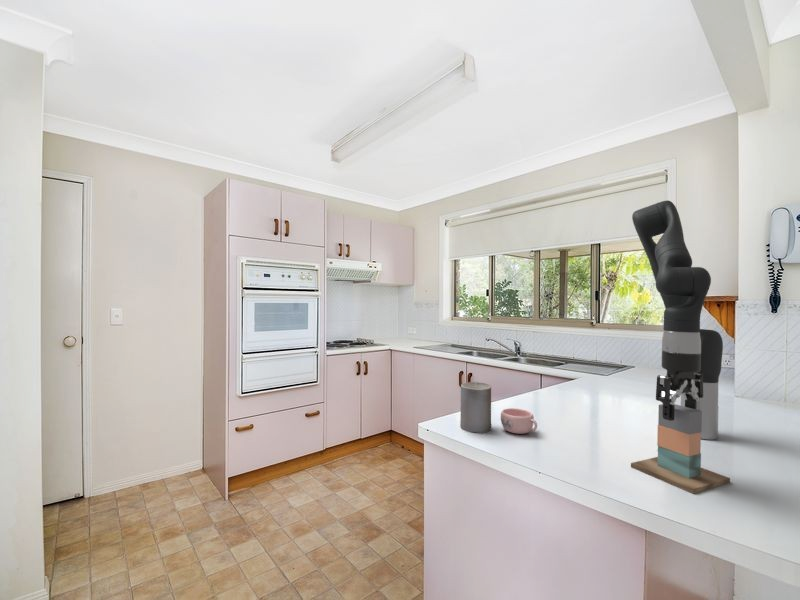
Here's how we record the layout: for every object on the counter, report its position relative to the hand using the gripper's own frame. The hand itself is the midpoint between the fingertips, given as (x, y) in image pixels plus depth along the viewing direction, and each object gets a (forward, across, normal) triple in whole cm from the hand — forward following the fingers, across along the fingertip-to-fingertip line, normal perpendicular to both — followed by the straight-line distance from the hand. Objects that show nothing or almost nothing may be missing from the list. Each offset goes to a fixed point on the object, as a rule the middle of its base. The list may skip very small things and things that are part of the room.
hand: (679, 417), depth 91 cm
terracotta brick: (+8, 0, 0) cm, 8 cm away
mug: (+14, +16, -37) cm, 43 cm away
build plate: (+14, 0, 0) cm, 14 cm away
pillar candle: (+14, +27, -45) cm, 54 cm away
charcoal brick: (+3, 0, 0) cm, 3 cm away
